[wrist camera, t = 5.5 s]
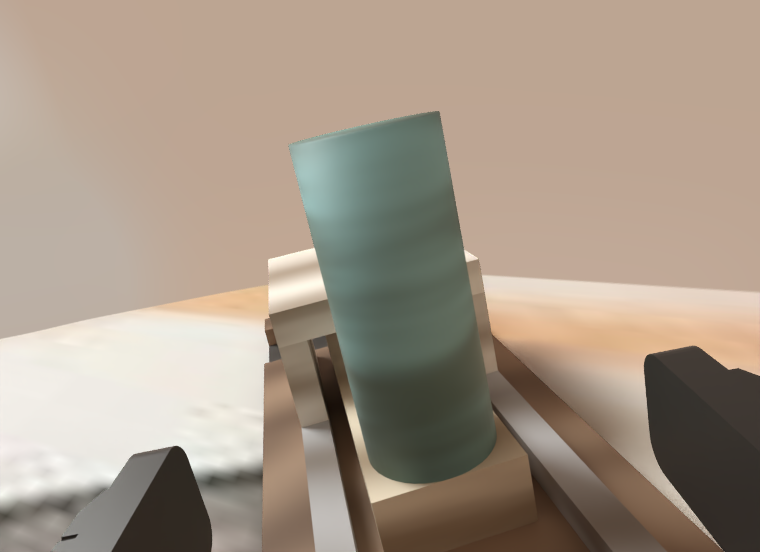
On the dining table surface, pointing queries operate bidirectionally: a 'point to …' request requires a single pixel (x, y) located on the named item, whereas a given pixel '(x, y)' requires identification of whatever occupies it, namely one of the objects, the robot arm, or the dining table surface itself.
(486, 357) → the tunnel track
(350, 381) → the block with teal grip
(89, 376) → the dining table surface
